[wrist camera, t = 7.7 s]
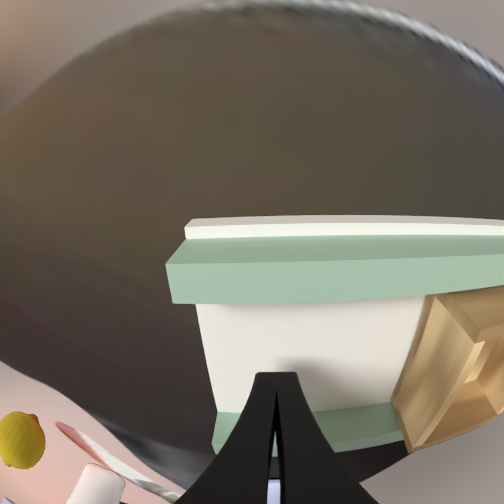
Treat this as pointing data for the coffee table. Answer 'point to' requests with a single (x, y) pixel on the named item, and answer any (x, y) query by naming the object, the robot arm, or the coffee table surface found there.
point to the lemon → (21, 440)
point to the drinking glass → (97, 486)
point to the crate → (452, 368)
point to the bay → (324, 306)
